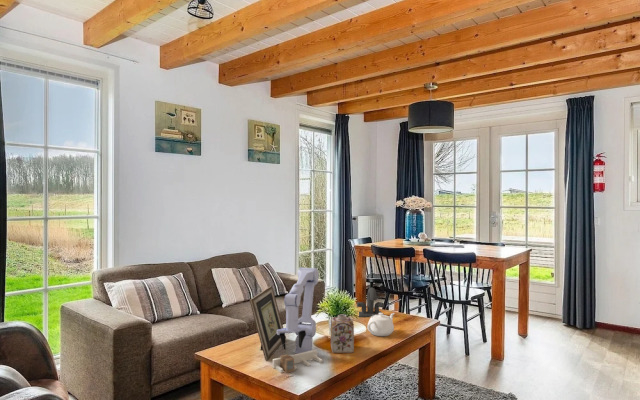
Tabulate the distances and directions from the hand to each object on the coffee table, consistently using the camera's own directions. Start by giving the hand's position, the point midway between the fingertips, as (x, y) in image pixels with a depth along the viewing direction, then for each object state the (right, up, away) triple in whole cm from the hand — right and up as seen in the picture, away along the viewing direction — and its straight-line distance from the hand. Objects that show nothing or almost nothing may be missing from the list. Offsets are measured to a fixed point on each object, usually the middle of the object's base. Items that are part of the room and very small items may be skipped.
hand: (292, 348), depth 200 cm
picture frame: (-14, -10, +27) cm, 32 cm away
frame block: (-2, -10, -1) cm, 10 cm away
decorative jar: (+25, -10, +26) cm, 37 cm away
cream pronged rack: (+3, -10, +5) cm, 11 cm away
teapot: (+50, -10, +52) cm, 73 cm away
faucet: (+48, -9, +86) cm, 99 cm away
